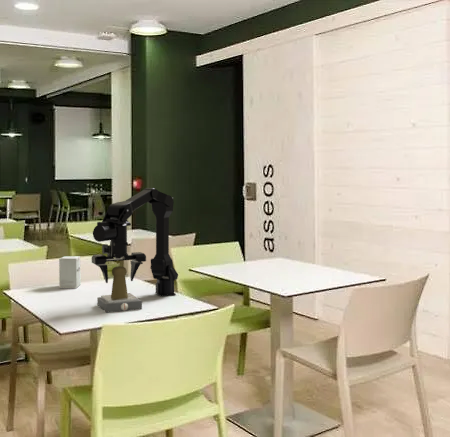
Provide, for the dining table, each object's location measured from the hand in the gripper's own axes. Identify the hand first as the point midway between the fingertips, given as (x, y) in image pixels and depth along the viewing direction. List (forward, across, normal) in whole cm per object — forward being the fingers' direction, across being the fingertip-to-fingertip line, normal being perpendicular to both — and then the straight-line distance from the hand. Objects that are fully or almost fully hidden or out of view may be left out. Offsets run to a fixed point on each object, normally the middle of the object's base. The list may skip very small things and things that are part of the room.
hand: (119, 281), depth 223 cm
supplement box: (+10, +8, -45) cm, 47 cm away
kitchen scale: (+9, 0, 0) cm, 9 cm away
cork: (+6, 0, 0) cm, 6 cm away
